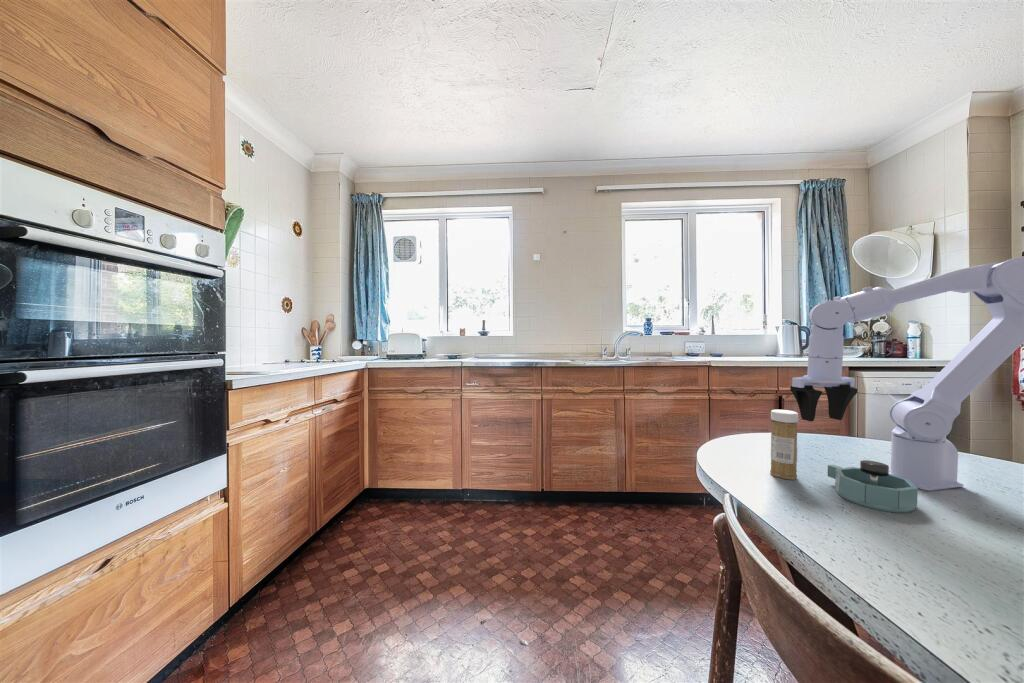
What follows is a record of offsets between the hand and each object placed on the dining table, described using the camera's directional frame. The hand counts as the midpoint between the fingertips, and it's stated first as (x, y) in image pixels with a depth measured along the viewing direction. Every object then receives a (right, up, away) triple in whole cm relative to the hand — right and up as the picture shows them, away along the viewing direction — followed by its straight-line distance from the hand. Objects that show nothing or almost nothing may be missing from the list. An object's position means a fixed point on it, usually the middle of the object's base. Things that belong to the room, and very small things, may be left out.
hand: (821, 419), depth 81 cm
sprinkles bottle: (-12, -11, -5) cm, 17 cm away
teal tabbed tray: (-4, -11, -14) cm, 18 cm away
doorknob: (-3, -10, -15) cm, 18 cm away
